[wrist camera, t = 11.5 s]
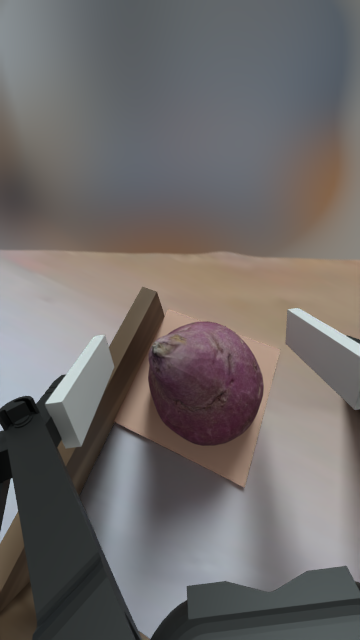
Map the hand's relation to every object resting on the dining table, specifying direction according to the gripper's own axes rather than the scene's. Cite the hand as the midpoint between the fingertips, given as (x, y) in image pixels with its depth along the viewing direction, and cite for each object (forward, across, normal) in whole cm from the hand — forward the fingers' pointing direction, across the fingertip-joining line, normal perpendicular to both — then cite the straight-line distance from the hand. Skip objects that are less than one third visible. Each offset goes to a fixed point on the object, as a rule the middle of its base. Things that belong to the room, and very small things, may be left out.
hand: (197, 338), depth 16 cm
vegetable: (+4, 0, -7) cm, 8 cm away
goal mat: (+4, 0, -7) cm, 8 cm away
